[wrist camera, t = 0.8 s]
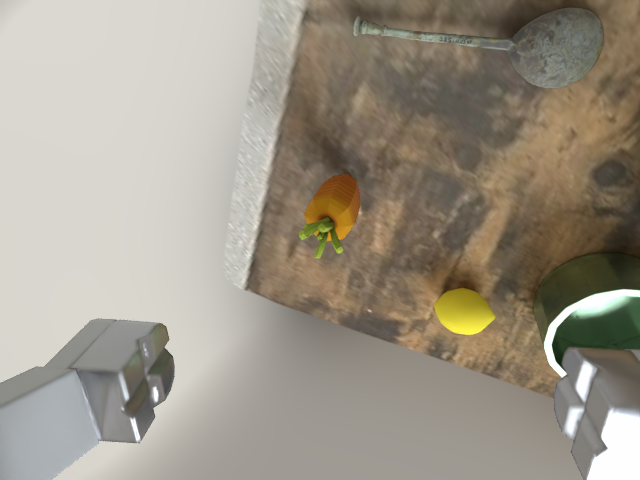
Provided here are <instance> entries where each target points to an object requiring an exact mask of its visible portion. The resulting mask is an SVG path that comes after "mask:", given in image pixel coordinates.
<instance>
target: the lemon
mask: <svg viewBox="0 0 640 480" xmlns="http://www.w3.org/2000/svg"><path fill="white" fill-rule="evenodd" d="M434 307H435V311H436V314H437V316H438V318H439V320H440V322H441V323H442V324H443V325H444V326H445V327H446V328H448V329H449V330H451V331H452V332H454V333H459V334H469V335H472V334H475V333H478V332H481V331H482V330H483V329H484V328H485V327H486V326H487V325H488V324H489V323H491V322H492V321H493V320H494V319H495V315H494V313H493V311H492V310H491V308H490V306H489V305H488V303H487V301H486V300H485V299H484V298H483V297H482V296H481V295H480V294H479V293H476V292H474V291H472V290H469V289H465V288H460V289H454V290H450V291H447V292H446V293H444V294H443V295H442V296H441V297H440V298H439V299H438V300H437V301H436V303H435V304H434Z"/></svg>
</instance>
